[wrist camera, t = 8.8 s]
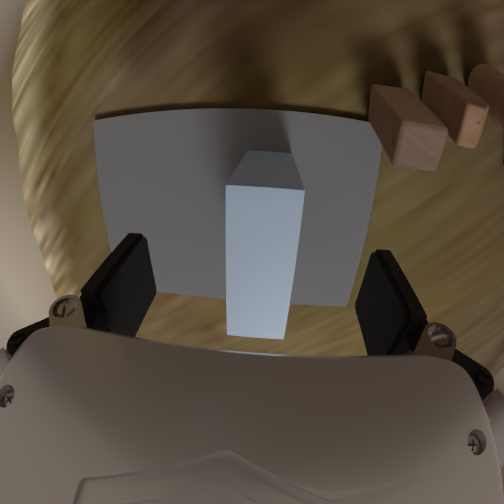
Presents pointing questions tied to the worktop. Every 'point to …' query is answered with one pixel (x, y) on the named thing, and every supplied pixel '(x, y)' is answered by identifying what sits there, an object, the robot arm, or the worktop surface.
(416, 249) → the worktop surface
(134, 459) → the robot arm
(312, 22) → the worktop surface
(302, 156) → the mat
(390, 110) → the wooden block set
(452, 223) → the worktop surface
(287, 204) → the slab
